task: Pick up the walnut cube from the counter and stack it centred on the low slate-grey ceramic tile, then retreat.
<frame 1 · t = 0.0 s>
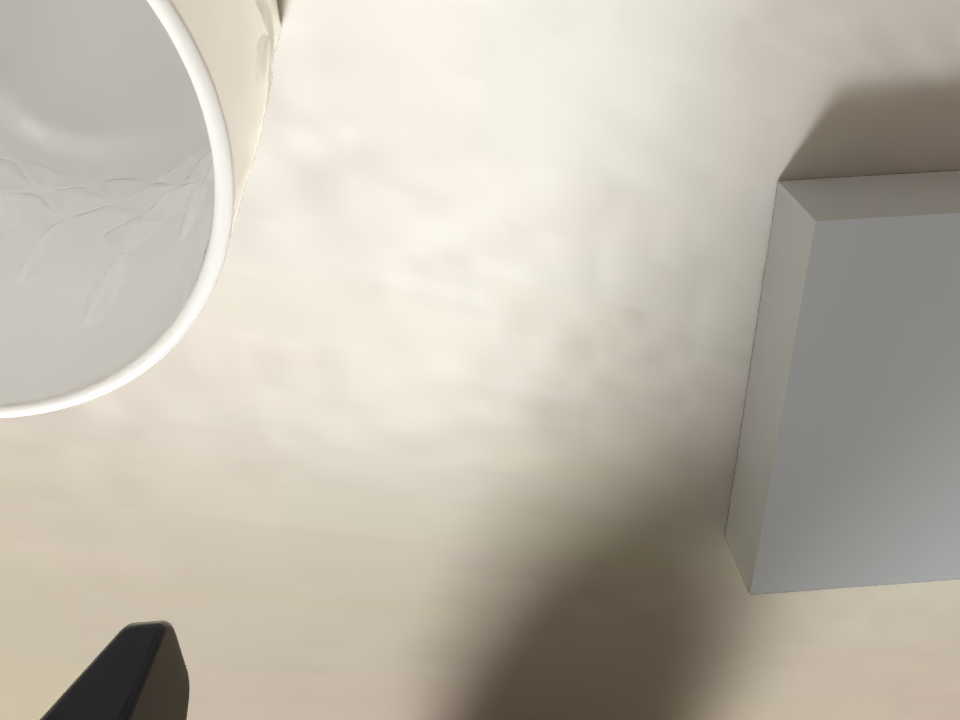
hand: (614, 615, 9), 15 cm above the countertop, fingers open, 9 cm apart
slate tile: (954, 367, 26), on the countertop
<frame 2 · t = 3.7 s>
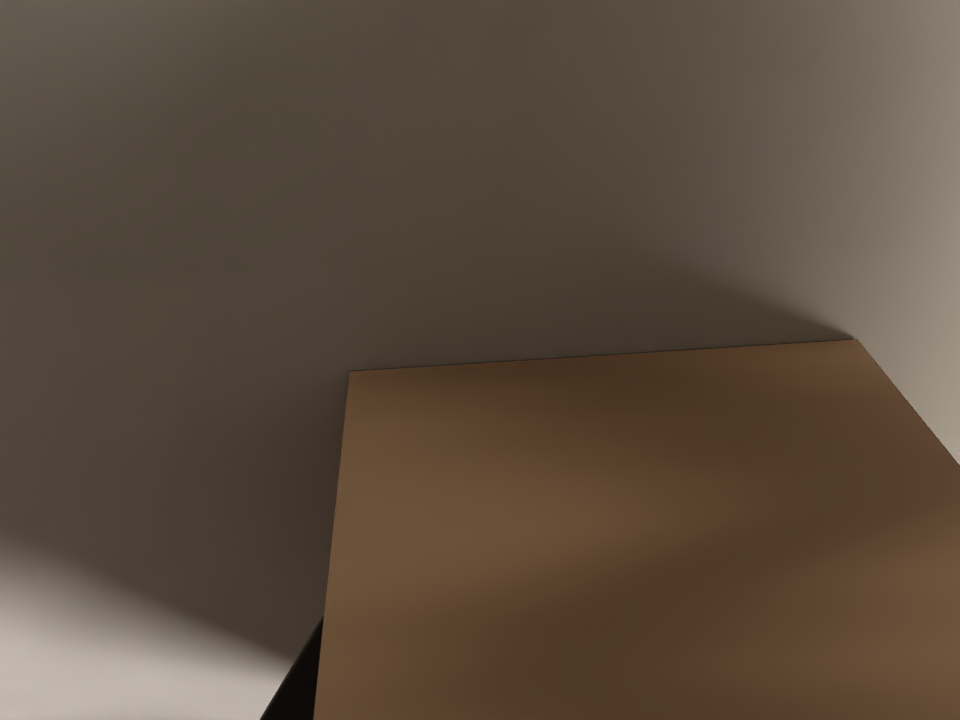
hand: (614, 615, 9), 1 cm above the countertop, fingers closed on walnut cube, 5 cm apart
walnut cube: (597, 543, 10), on the countertop, touching gripper
when the fingers open (5 cm above the countertop, at t = 7.3 s): walnut cube drops 1 cm, resting on slate tile.
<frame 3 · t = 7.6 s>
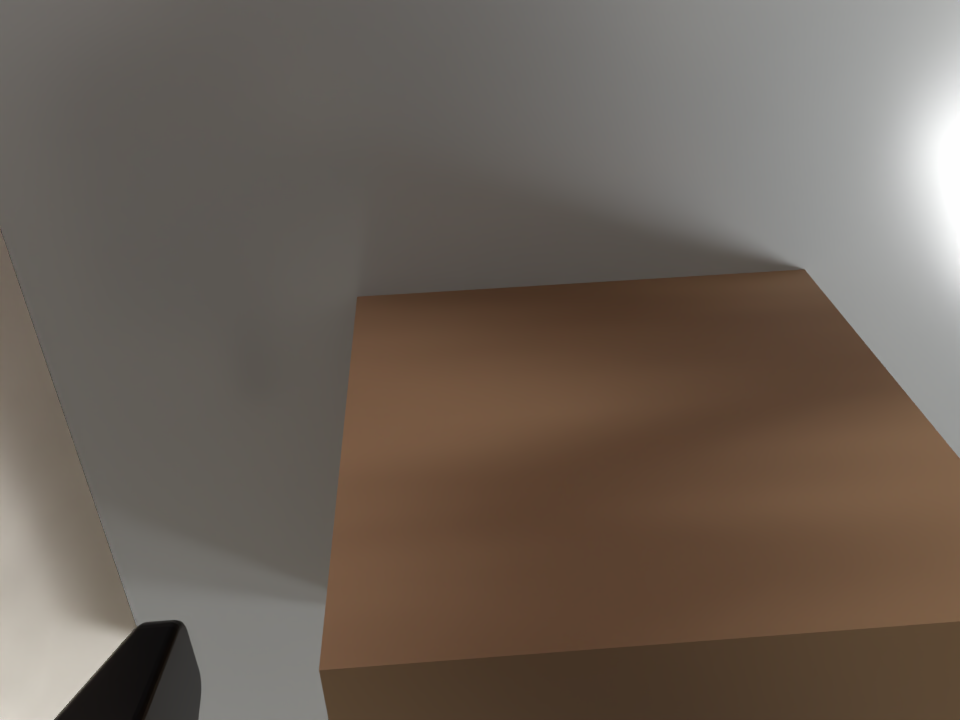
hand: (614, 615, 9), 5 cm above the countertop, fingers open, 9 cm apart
walnut cube: (577, 459, 11), point 2 cm above the countertop, touching slate tile
slate tile: (549, 356, 14), on the countertop
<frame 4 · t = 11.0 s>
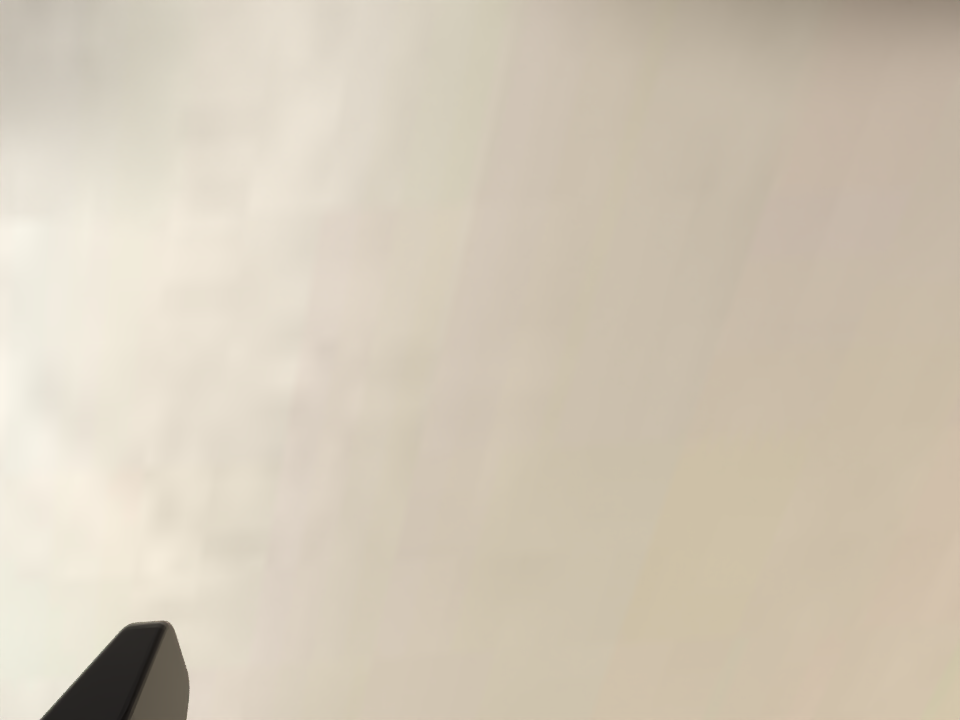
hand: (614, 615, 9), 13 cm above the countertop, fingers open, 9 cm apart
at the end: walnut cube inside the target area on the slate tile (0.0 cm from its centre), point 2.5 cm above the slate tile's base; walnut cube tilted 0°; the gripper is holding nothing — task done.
